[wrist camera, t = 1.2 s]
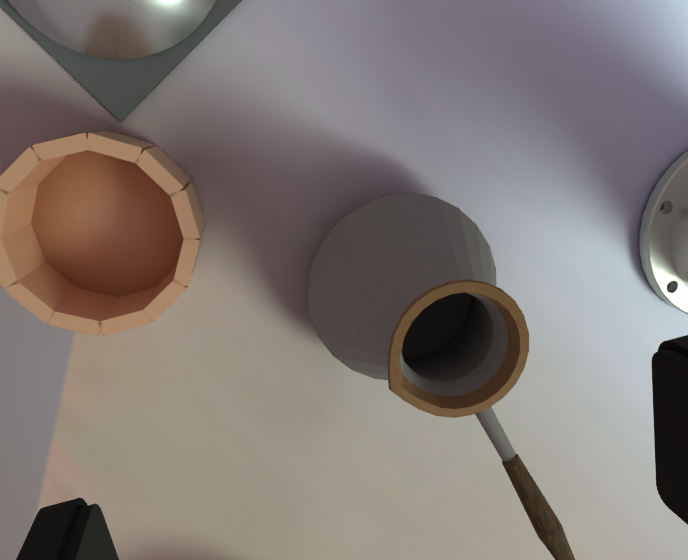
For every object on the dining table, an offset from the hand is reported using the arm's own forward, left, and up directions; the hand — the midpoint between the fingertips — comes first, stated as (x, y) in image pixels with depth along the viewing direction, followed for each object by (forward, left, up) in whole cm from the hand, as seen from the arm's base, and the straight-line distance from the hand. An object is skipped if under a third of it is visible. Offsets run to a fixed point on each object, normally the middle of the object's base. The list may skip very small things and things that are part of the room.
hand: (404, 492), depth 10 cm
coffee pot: (-1, +12, -29) cm, 31 cm away
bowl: (+7, -7, -28) cm, 30 cm away
